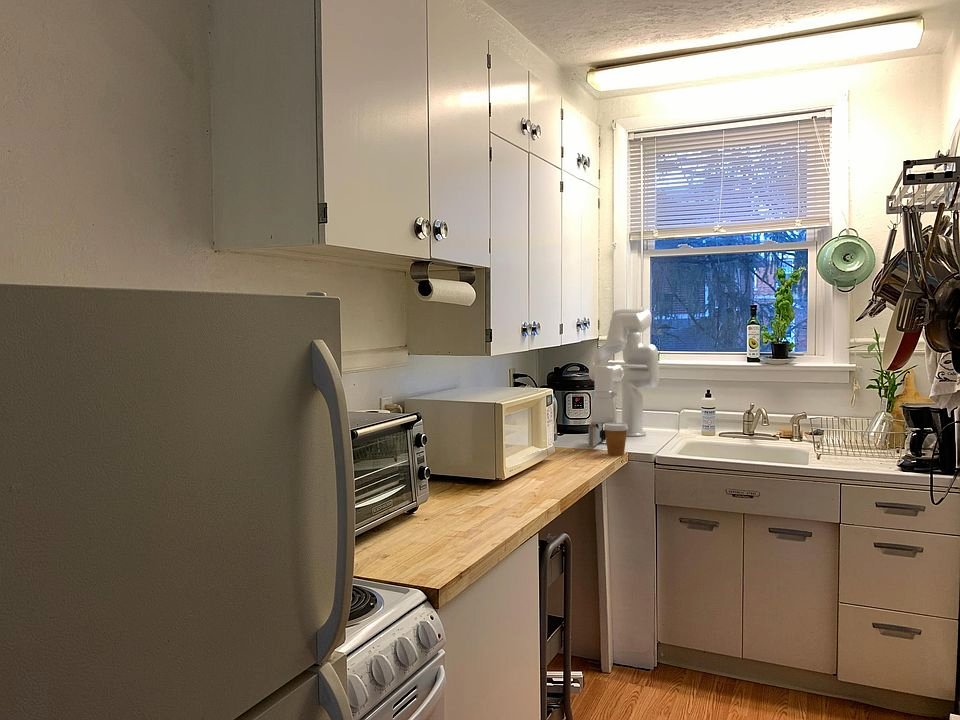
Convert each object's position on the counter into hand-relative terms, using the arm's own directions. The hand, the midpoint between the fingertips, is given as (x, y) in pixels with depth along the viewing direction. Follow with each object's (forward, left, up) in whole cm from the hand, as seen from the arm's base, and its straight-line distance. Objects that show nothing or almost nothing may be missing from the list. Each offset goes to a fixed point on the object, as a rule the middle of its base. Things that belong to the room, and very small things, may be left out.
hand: (603, 439), depth 303 cm
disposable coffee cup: (+12, -4, -4) cm, 14 cm away
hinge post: (-12, +8, -4) cm, 15 cm away
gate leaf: (-6, +1, -3) cm, 7 cm away
